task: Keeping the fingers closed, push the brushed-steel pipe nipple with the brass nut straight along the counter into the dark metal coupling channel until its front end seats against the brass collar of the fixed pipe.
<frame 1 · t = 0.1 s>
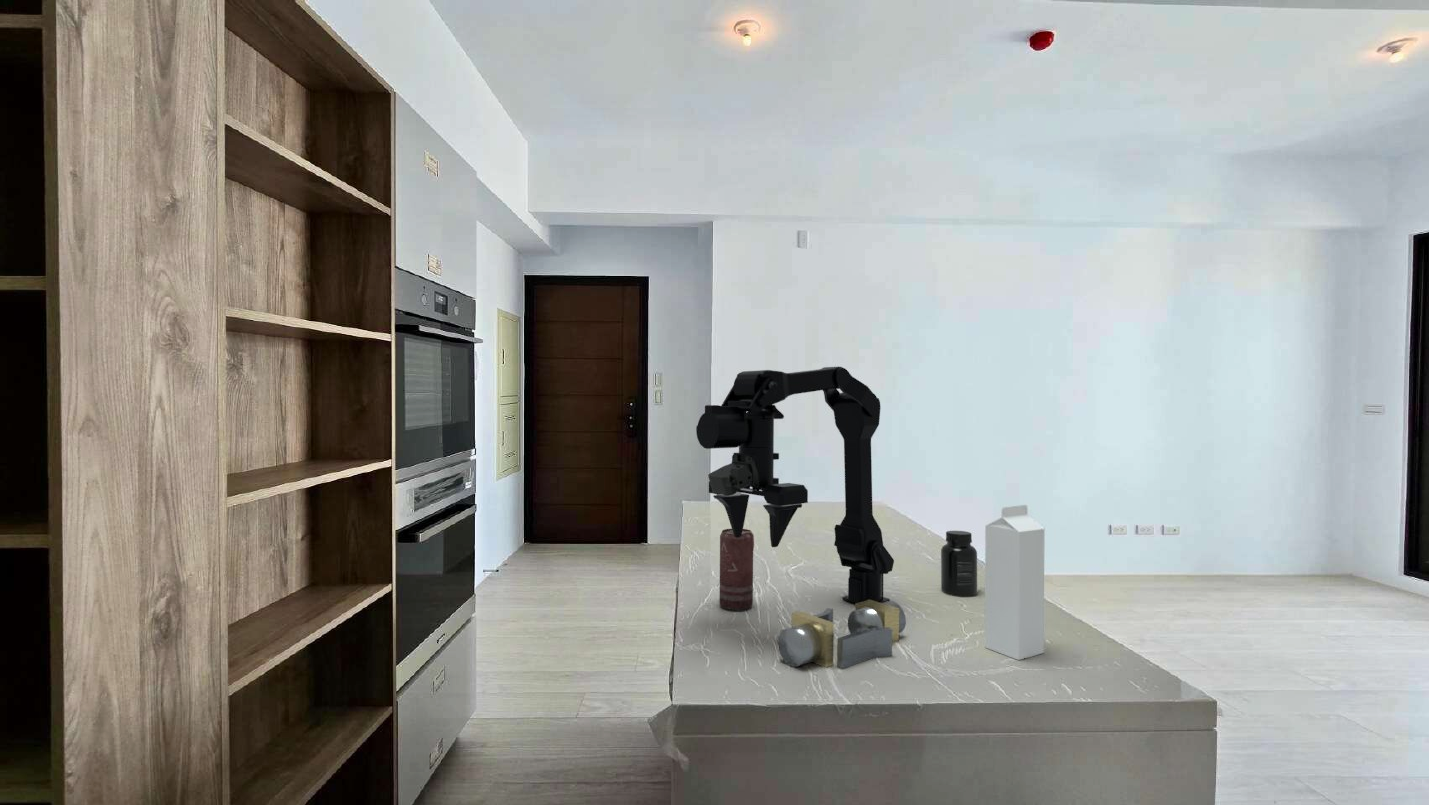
hand: (755, 542, 109), 15 cm above the countertop, tool pointing down, fingers open, 9 cm apart
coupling: (832, 652, 100), on the countertop
supplement bottle: (958, 593, 133), on the countertop
milk: (1013, 651, 101), on the countertop
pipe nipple: (876, 638, 106), on the countertop
can: (736, 607, 122), on the countertop
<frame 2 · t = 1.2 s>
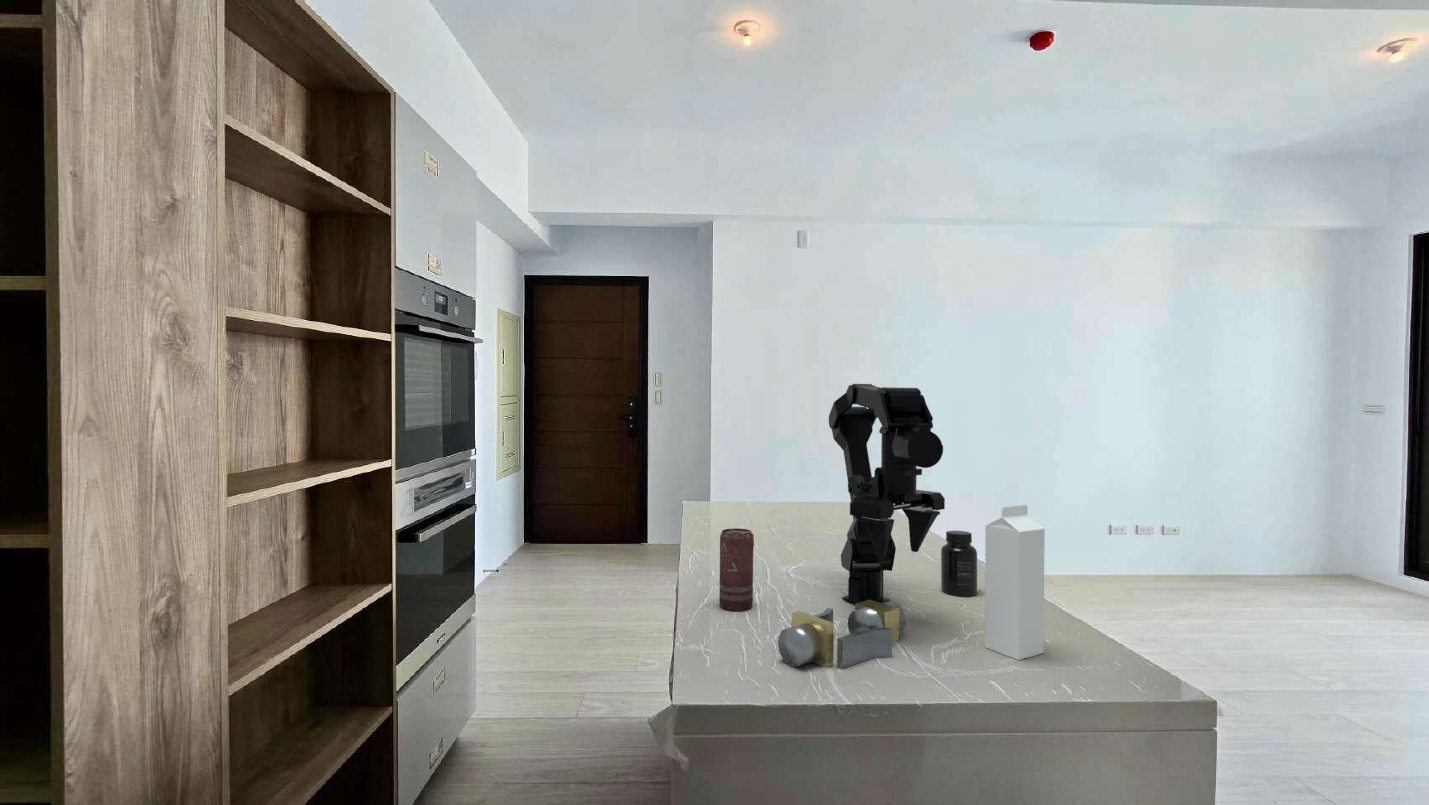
hand: (898, 555, 111), 12 cm above the countertop, tool pointing down, fingers open, 9 cm apart
nothing on the countertop moved.
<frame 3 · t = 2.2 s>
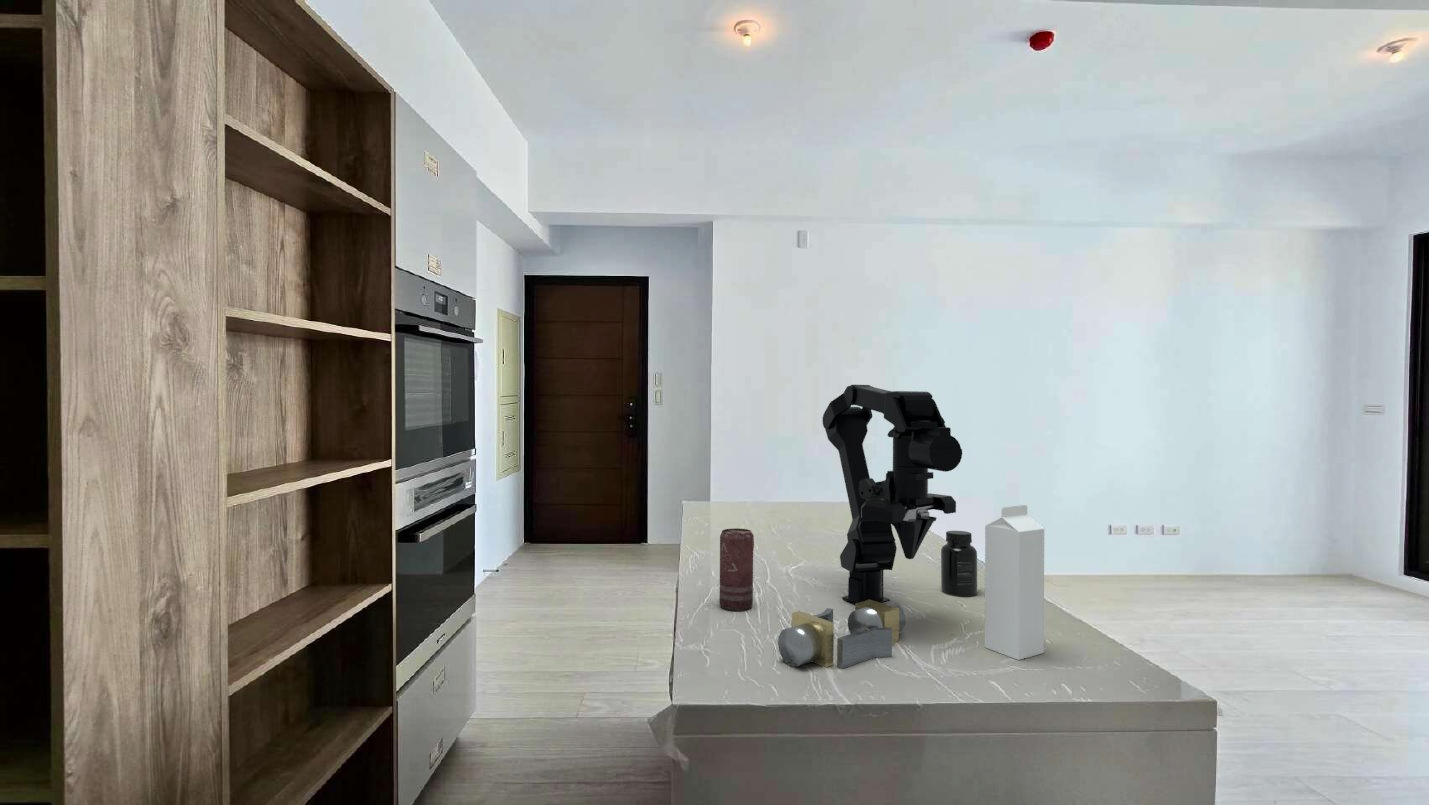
hand: (909, 558, 111), 12 cm above the countertop, tool pointing down, fingers closed
nothing on the countertop moved.
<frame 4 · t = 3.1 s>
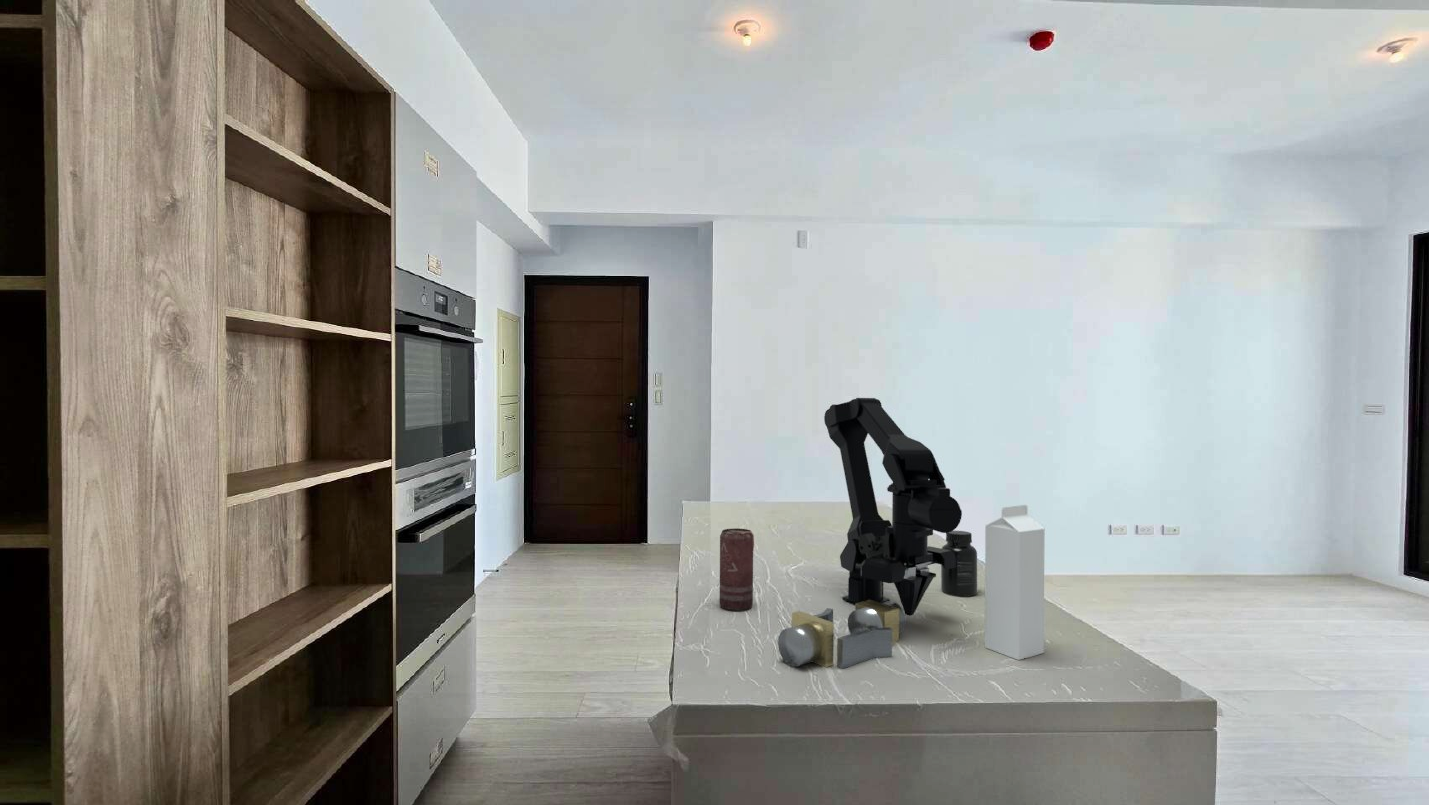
hand: (909, 615, 111), 2 cm above the countertop, tool pointing down, fingers closed
nothing on the countertop moved.
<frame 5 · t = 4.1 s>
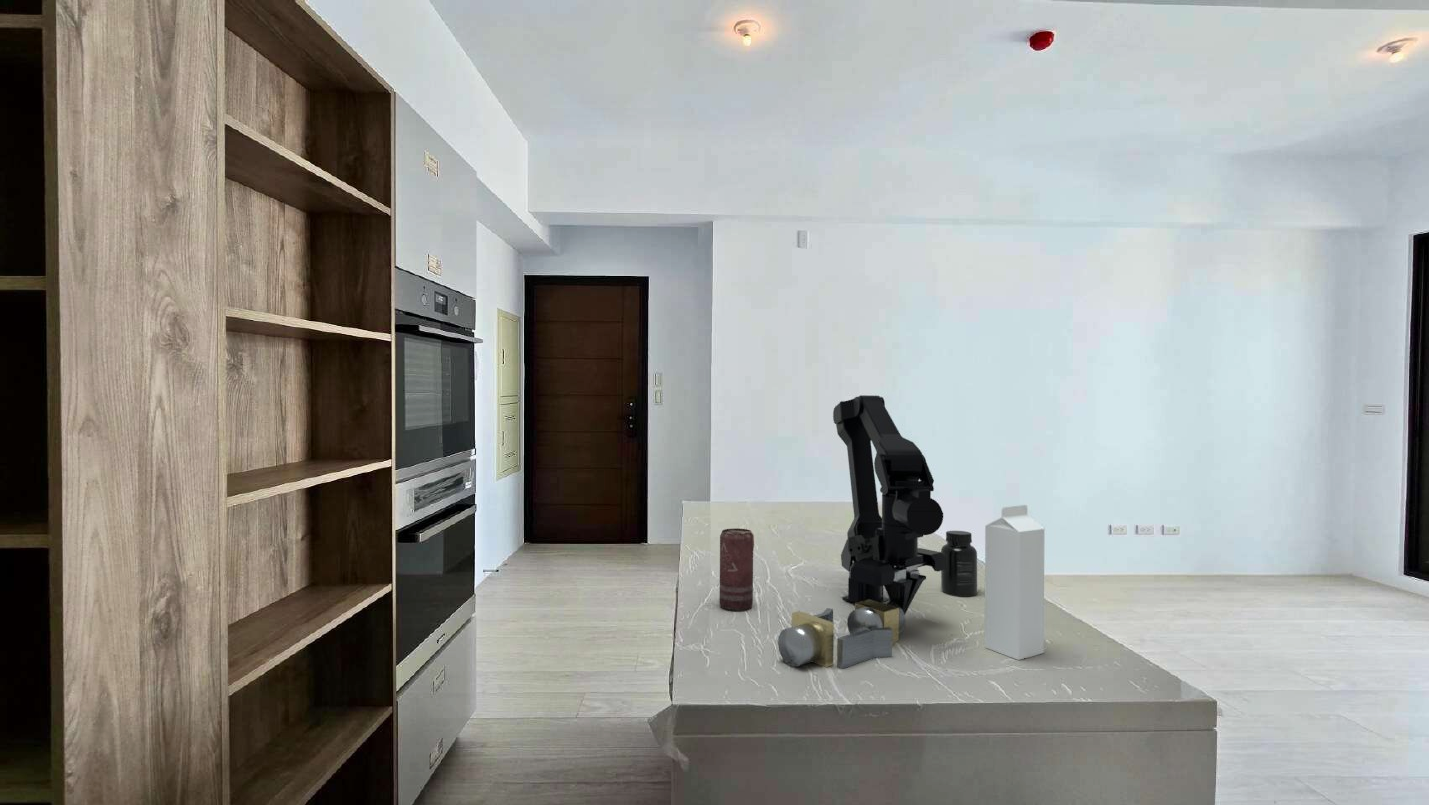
hand: (899, 618, 109), 2 cm above the countertop, tool pointing down, fingers closed
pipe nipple: (876, 638, 106), on the countertop, touching gripper
everything else where it was.
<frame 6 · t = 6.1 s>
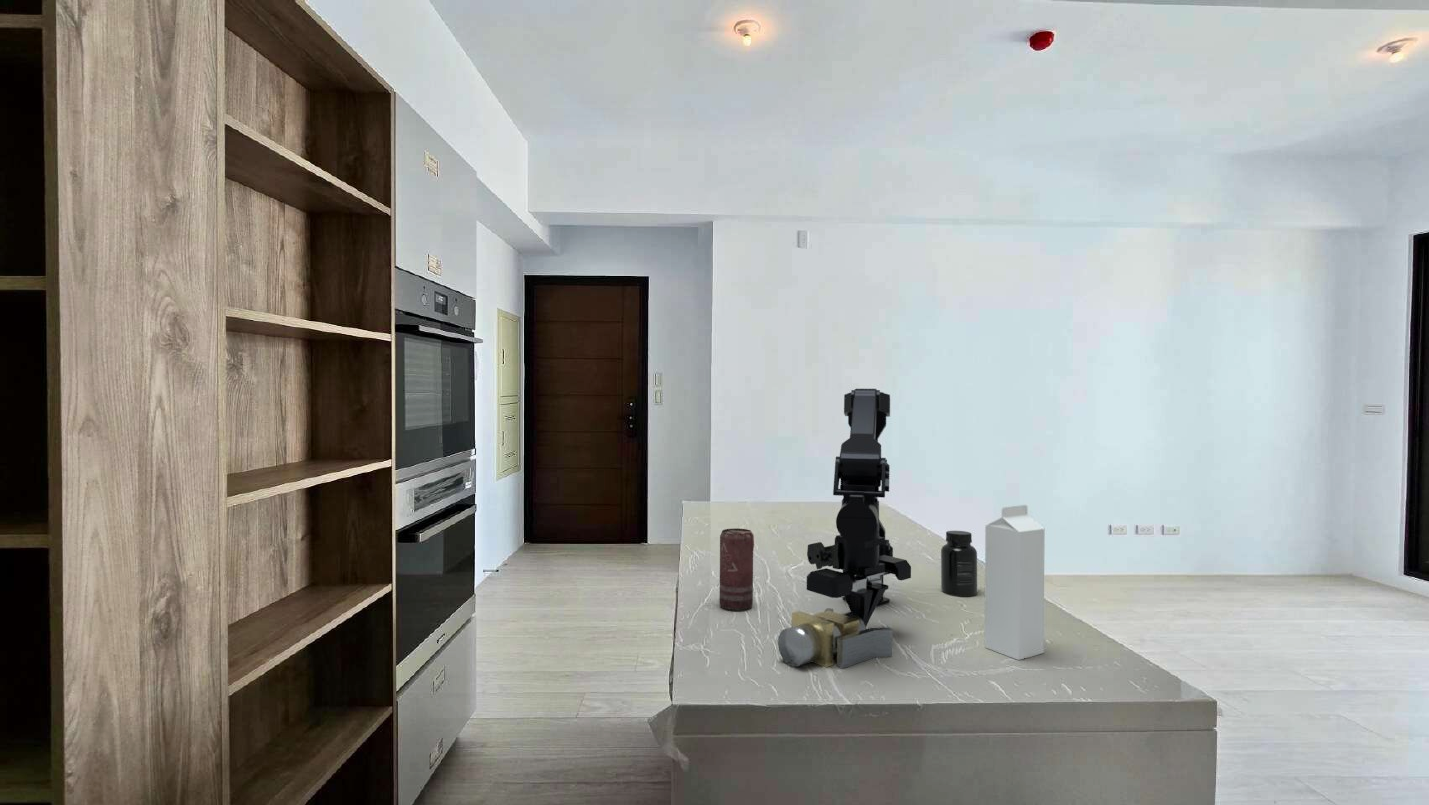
hand: (860, 630, 103), 2 cm above the countertop, tool pointing down, fingers closed
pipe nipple: (835, 651, 100), on the countertop, touching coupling, gripper
everything else where it was.
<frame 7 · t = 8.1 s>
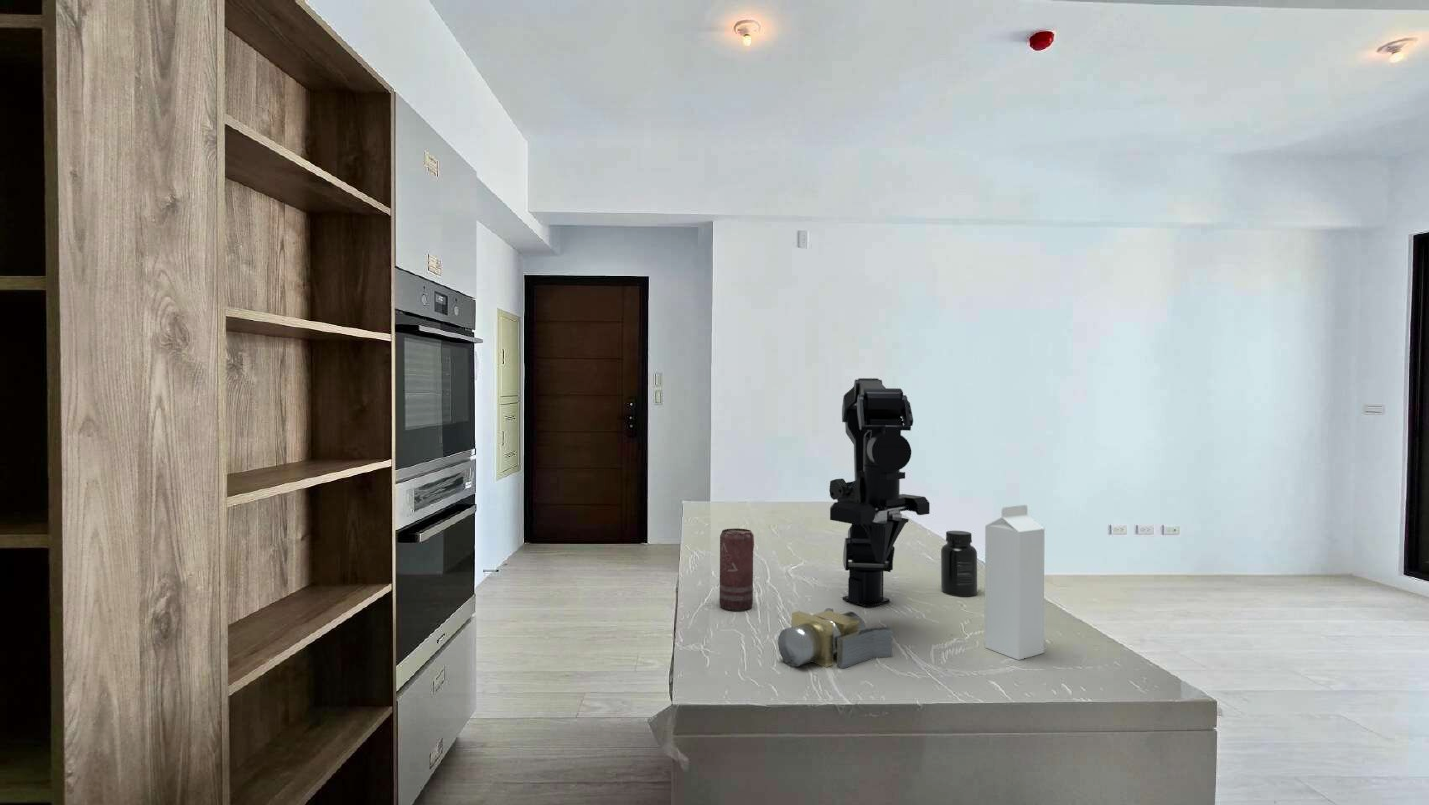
hand: (880, 561, 107), 12 cm above the countertop, tool pointing down, fingers closed
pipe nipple: (835, 651, 100), on the countertop, touching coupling
everything else where it was.
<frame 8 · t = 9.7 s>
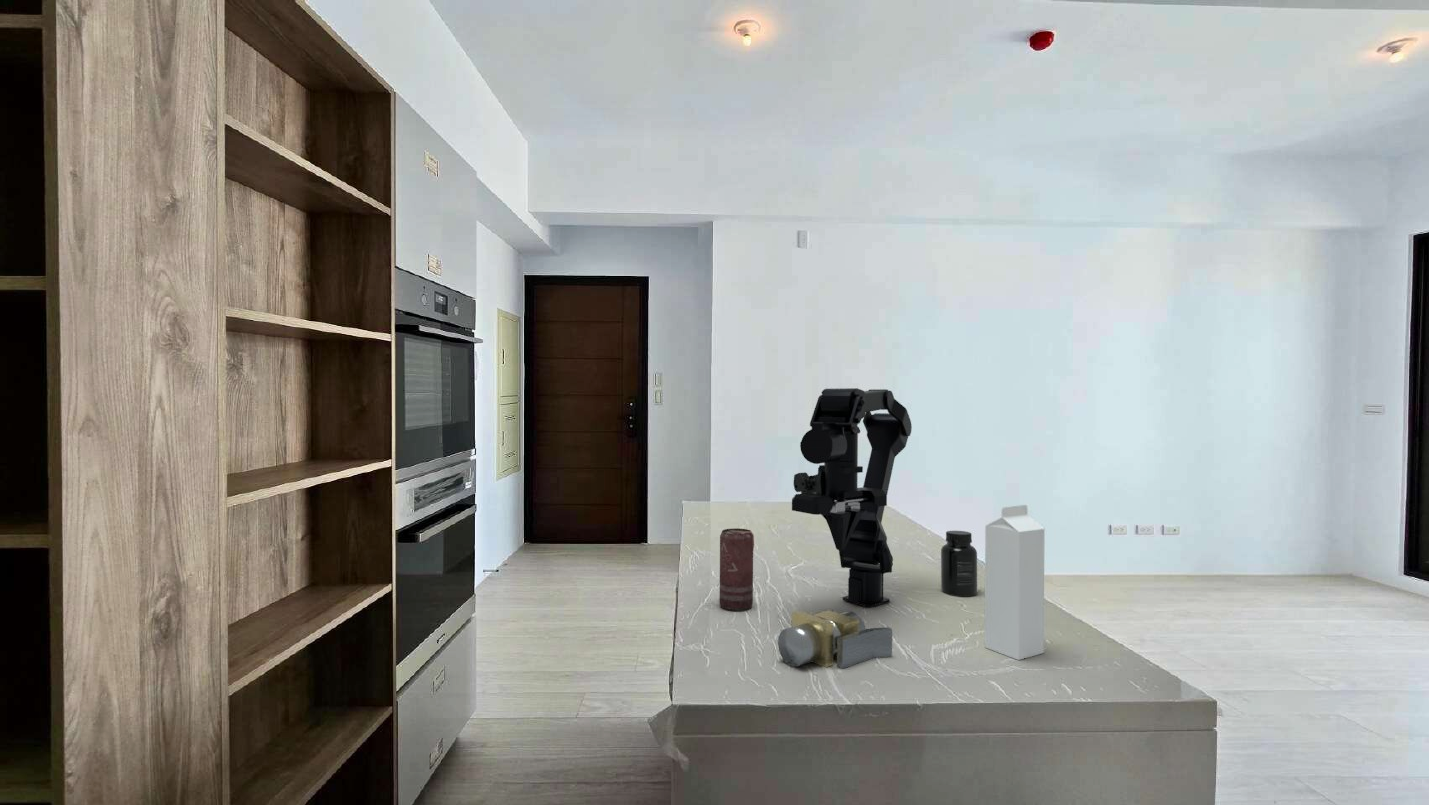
hand: (840, 549, 115), 12 cm above the countertop, tool pointing down, fingers closed
nothing on the countertop moved.
at the end: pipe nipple 0.9 cm from the target spot on the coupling, point 0.0 cm above the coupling's base; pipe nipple tilted 0° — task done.
